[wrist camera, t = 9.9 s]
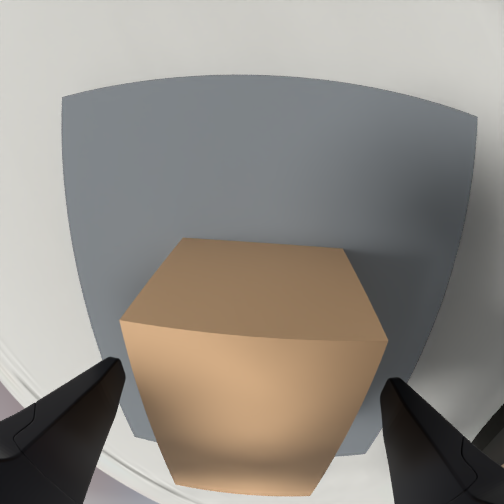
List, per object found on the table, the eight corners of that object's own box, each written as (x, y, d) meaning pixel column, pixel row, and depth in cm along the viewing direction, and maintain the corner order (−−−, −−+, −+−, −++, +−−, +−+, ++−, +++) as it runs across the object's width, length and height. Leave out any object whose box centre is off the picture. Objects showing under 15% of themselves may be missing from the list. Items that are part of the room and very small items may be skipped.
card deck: (197, 402, 12) (175, 484, 8) (182, 237, 9) (119, 320, 5) (305, 410, 12) (310, 495, 8) (342, 248, 9) (388, 340, 5)
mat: (71, 97, 8) (62, 97, 8) (467, 116, 7) (477, 116, 7) (137, 429, 15) (134, 436, 15) (363, 446, 14) (365, 453, 14)
